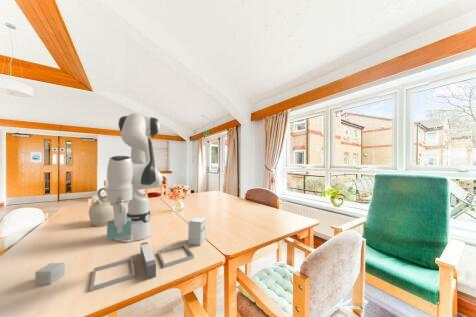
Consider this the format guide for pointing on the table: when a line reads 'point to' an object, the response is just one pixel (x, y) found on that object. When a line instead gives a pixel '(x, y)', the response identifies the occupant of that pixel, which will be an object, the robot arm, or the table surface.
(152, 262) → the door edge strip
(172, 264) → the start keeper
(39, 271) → the small box
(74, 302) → the table surface
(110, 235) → the teal rectangular block
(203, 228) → the supplement box
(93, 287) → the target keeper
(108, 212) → the jug
